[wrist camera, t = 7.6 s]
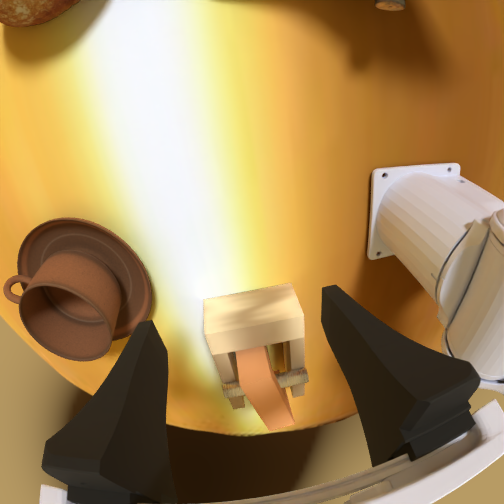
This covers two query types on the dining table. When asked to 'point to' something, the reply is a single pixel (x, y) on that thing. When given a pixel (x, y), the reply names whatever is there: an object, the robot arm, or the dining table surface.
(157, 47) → the dining table surface
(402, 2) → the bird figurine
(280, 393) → the orange long block
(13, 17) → the bread roll
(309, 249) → the dining table surface
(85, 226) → the cup and saucer
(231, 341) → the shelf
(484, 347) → the robot arm
